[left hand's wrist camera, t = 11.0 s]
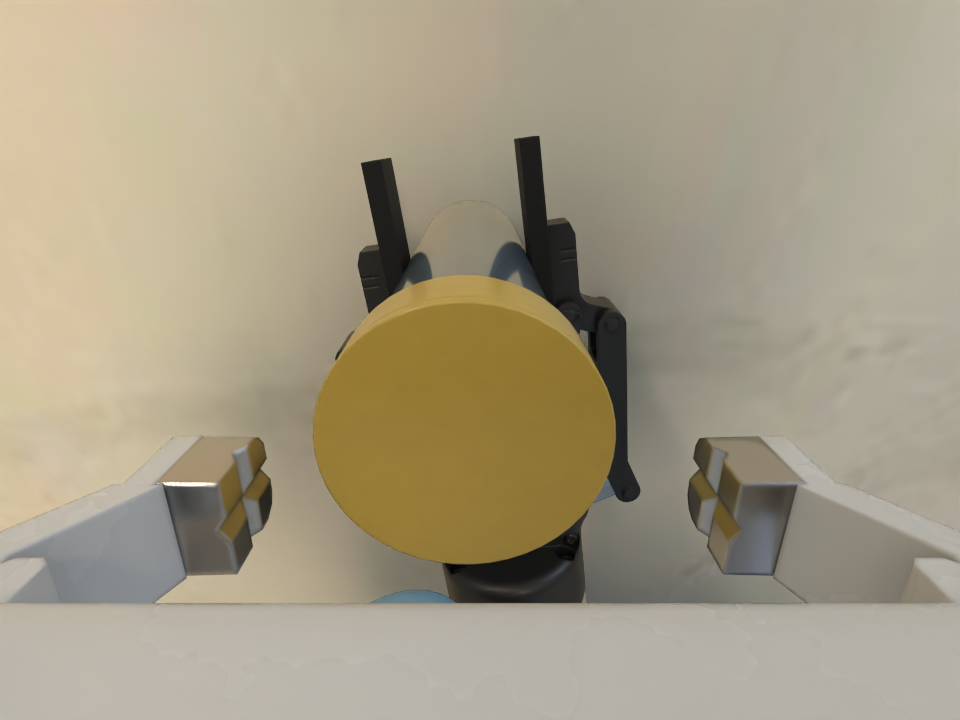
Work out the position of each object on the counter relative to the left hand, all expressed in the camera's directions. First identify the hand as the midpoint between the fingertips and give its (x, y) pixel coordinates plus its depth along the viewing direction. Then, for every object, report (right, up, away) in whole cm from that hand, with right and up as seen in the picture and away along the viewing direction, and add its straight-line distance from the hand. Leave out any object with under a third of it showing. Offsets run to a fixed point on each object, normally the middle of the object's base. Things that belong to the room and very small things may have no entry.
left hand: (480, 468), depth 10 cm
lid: (0, 0, +1) cm, 1 cm away
